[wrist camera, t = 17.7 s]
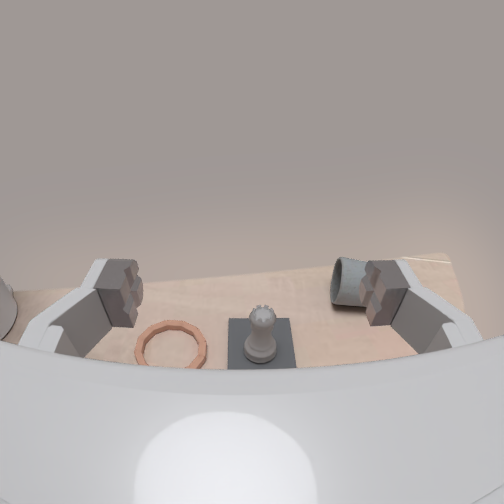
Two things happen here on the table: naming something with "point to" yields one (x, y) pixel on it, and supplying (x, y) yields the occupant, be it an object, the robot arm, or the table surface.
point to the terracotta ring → (172, 326)
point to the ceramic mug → (347, 281)
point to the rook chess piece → (261, 335)
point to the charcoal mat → (239, 334)
